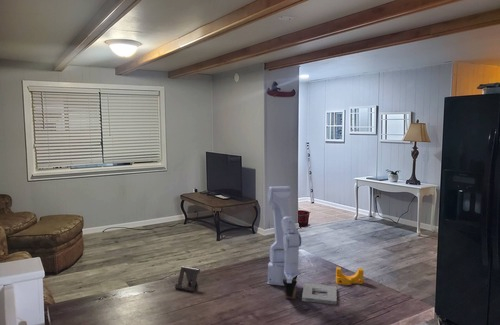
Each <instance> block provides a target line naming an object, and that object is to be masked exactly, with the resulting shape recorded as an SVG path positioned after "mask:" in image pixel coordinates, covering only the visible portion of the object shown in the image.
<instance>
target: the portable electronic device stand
mask: <svg viewBox="0 0 500 325" xmlns="http://www.w3.org/2000/svg"><path fill="white" fill-rule="evenodd" d="M200 273H201V269H200V268H196V267H195V268H194V267H190V266H184V265H182V266H181V267H180V271H179V276H178V281H177V283H175V285H174V288H175V289H177V290H182V291H188V292H192V293H193V292H194V291H195V288H196V285H197V286H198V281H197V279H198V275H199V274H200ZM184 275H185V277H186V279H187V283H188V284H190V286H187V285H186V286H183V280H184Z"/></svg>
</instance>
